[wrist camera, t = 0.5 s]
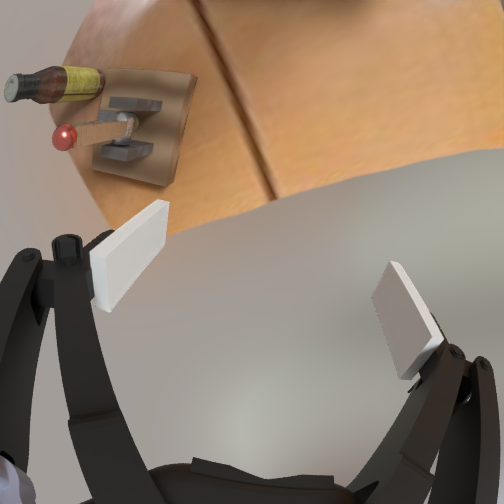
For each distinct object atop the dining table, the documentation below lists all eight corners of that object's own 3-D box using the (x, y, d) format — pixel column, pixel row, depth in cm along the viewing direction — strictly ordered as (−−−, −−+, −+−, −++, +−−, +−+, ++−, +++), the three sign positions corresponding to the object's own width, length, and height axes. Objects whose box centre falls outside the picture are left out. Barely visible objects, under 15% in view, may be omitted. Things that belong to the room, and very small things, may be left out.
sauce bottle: (96, 62, 36) (16, 54, 18) (111, 82, 38) (30, 77, 20) (75, 88, 38) (-4, 92, 20) (90, 108, 40) (8, 117, 22)
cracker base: (119, 70, 37) (79, 63, 26) (197, 77, 37) (170, 65, 27) (102, 165, 45) (62, 180, 34) (173, 181, 45) (143, 201, 35)
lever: (106, 108, 34) (26, 115, 19) (145, 112, 34) (68, 117, 19) (102, 136, 36) (23, 155, 21) (139, 142, 36) (63, 162, 21)
